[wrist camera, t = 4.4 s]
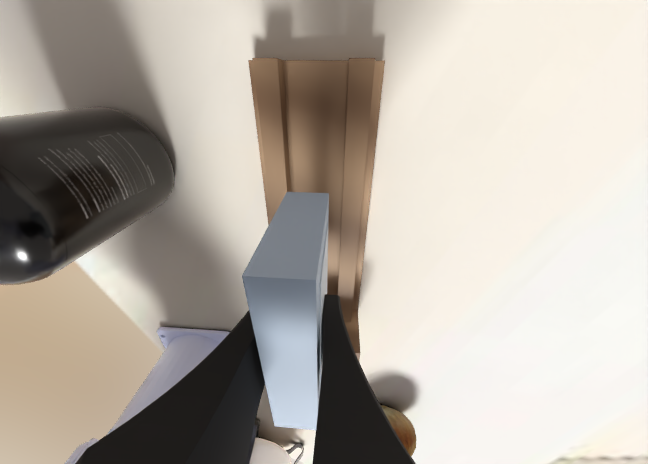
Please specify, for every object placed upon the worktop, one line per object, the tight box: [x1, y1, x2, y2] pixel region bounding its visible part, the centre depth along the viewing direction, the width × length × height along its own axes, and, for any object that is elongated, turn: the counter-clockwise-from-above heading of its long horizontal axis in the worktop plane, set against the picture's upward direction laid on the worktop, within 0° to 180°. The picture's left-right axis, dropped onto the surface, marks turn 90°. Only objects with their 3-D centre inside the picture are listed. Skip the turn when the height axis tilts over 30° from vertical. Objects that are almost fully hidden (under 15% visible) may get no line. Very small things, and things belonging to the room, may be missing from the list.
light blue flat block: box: [242, 192, 329, 430], centre depth 11 cm, size 9×2×6 cm, turn 0°
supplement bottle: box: [0, 107, 174, 285], centre depth 12 cm, size 7×7×12 cm
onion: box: [380, 405, 416, 456], centre depth 28 cm, size 8×8×8 cm
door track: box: [249, 58, 385, 361], centre depth 16 cm, size 20×7×5 cm, turn 0°
